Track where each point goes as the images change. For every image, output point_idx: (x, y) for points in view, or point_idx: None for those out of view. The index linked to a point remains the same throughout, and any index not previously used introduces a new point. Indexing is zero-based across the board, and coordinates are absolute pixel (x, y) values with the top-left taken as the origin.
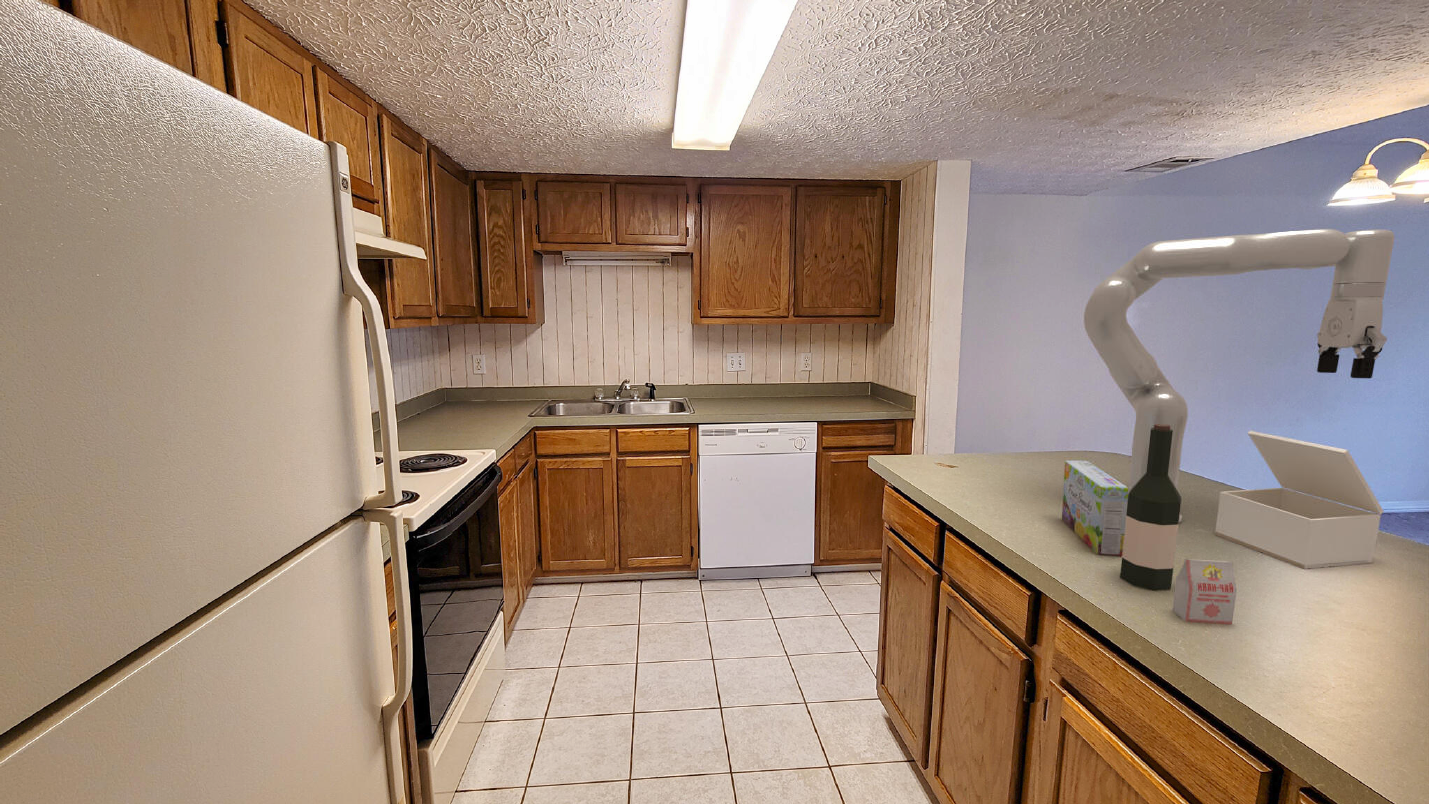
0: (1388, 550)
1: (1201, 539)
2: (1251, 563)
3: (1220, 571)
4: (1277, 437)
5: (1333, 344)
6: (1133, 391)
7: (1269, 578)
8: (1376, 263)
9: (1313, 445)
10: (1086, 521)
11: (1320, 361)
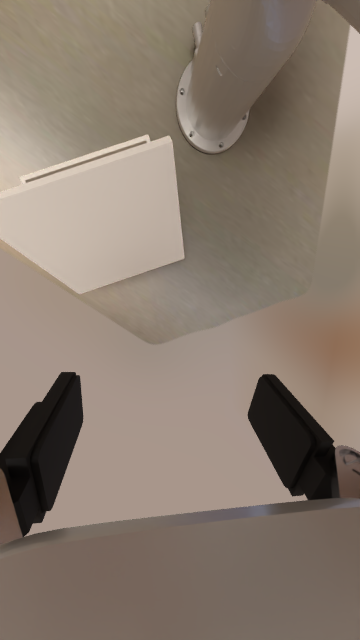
0: (133, 315)
1: (127, 126)
2: (51, 135)
3: None
4: (103, 160)
5: (198, 541)
6: None
7: (2, 121)
8: None
9: (25, 186)
10: None
11: (292, 408)
